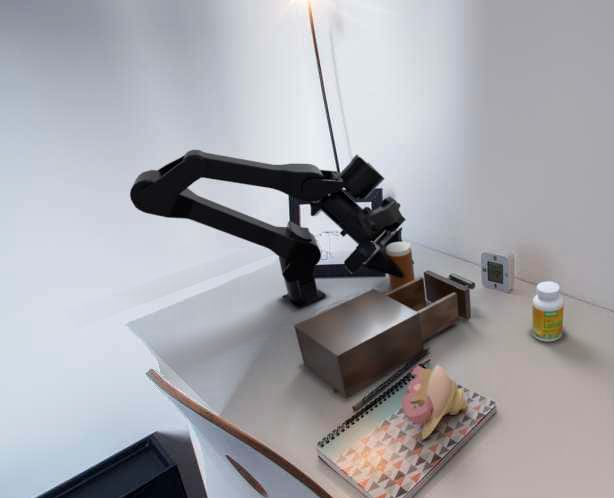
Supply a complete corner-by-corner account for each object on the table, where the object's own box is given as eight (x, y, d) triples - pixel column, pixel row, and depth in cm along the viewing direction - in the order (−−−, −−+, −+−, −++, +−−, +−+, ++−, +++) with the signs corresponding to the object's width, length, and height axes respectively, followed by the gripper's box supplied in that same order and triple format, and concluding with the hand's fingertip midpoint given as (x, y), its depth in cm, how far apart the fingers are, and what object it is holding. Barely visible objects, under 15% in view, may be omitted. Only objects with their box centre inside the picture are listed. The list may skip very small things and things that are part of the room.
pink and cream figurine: (459, 390, 83) (487, 376, 75) (442, 453, 78) (470, 445, 70) (406, 369, 80) (429, 352, 72) (384, 433, 75) (407, 422, 67)
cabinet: (380, 326, 99) (373, 288, 95) (423, 352, 91) (419, 312, 87) (304, 365, 89) (293, 325, 85) (346, 398, 81) (336, 356, 77)
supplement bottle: (542, 345, 92) (543, 297, 87) (526, 330, 96) (526, 284, 91) (568, 336, 94) (570, 289, 89) (551, 322, 98) (553, 276, 93)
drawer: (446, 290, 108) (443, 262, 105) (486, 308, 101) (485, 280, 98) (370, 328, 96) (365, 299, 93) (410, 353, 90) (406, 321, 86)
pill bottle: (386, 292, 109) (380, 248, 104) (401, 282, 113) (396, 239, 108) (405, 298, 107) (399, 254, 102) (420, 288, 110) (416, 244, 105)
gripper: (349, 207, 92) (415, 268, 95) (391, 174, 108) (446, 228, 111) (317, 245, 97) (380, 302, 101) (361, 209, 113) (415, 259, 116)
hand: (408, 270), depth 107 cm, fingers closed on pill bottle, 5 cm apart
